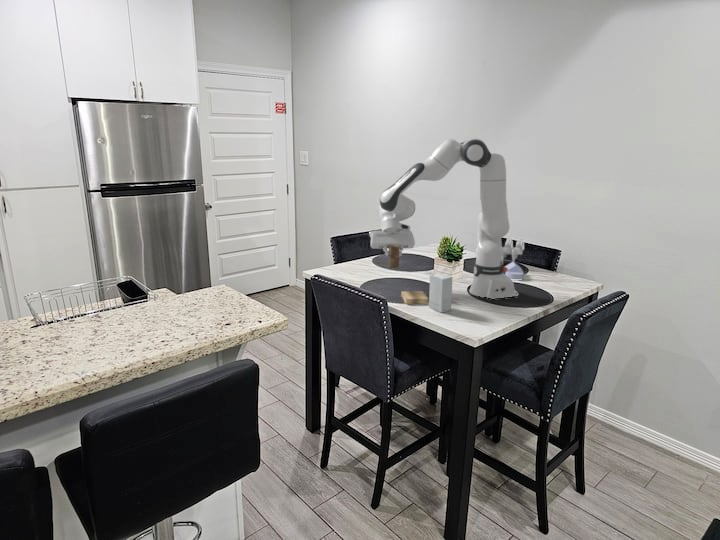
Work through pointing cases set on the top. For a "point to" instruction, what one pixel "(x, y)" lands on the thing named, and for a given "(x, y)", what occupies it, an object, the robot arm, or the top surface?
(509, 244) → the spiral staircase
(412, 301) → the oak slab
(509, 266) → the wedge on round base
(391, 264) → the walnut post
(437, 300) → the skincare box
